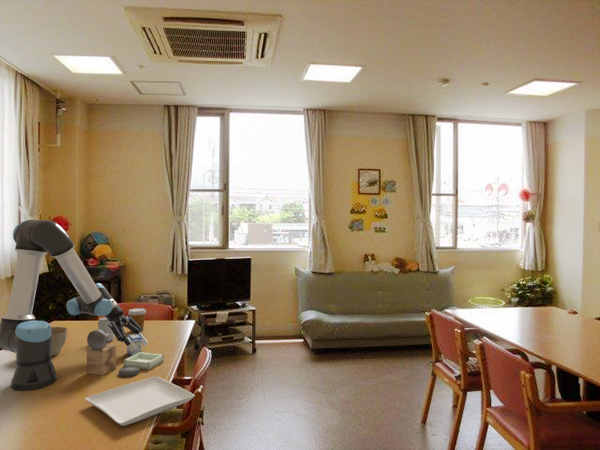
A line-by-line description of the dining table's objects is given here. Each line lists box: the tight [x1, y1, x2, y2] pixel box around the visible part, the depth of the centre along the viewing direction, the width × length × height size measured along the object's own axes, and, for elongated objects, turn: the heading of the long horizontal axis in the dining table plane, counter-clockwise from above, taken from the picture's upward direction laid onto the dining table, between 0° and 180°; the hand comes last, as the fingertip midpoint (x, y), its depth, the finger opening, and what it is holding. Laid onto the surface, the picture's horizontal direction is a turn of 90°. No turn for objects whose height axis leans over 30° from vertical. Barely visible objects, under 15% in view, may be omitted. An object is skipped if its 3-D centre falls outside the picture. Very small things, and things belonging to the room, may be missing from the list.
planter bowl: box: [51, 326, 69, 357], centre depth 196 cm, size 16×16×11 cm
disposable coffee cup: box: [128, 307, 147, 332], centre depth 237 cm, size 10×10×12 cm
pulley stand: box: [86, 328, 117, 376], centre depth 175 cm, size 8×8×18 cm
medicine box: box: [126, 333, 143, 357], centre depth 197 cm, size 8×4×9 cm, turn 40°
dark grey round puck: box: [118, 367, 140, 378], centre depth 173 cm, size 8×8×2 cm
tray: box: [123, 351, 165, 371], centre depth 184 cm, size 11×13×3 cm
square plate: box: [84, 376, 195, 427], centre depth 144 cm, size 27×27×4 cm
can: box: [97, 316, 115, 343], centre depth 217 cm, size 8×8×12 cm
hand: (140, 346), depth 196 cm, fingers closed on medicine box, 8 cm apart
